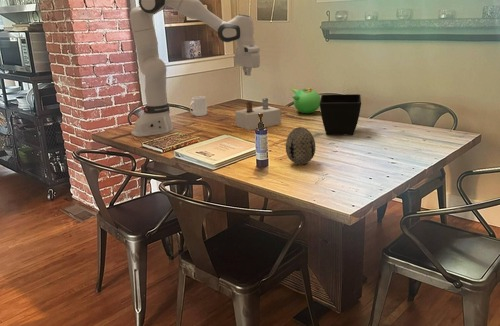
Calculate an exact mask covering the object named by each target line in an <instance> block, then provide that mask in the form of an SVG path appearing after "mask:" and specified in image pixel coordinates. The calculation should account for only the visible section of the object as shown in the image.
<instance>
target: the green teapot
mask: <svg viewBox="0 0 500 326" xmlns="http://www.w3.org/2000/svg"><path fill="white" fill-rule="evenodd" d="M291 91H292V92H293V93H294V95H292V99H293V105H294V108H295V110H297V112H300V113H302V114H311V113H314V112H317V110H319V109H320V100H321V95H320V94H319V93H318V92H317V91H316V90H315V89H313V87H308V88H303V89H300V90H299V89H296V88H294V87H292V88H291Z"/></svg>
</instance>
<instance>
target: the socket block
mask: <svg viewBox="0 0 500 326" xmlns="http://www.w3.org/2000/svg"><path fill="white" fill-rule="evenodd" d="M259 113H261V114H263V117H262V122H263V123H264V125H265V127H264V128H266V127H267V128H268V127H273V126H277V125H282V114H281V108H277V107H274V106H270V105H268V109H266V110H263V105H261V106H257V107H252V112H250V113H247V108H244V109H240V110H239V109H238V110H235V111H234V114H235V116H234V118H235V125H236V127H240V128H241V129H244V130H246V131H253V130H257V129H256V128H257V125H258V123H259V117H258V114H259Z"/></svg>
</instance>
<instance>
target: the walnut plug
mask: <svg viewBox="0 0 500 326" xmlns="http://www.w3.org/2000/svg"><path fill="white" fill-rule="evenodd" d="M245 104H246V109H247V113H250V112H252V108H253V101H251V100H249V101H246V102H245Z"/></svg>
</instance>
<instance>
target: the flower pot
mask: <svg viewBox="0 0 500 326" xmlns="http://www.w3.org/2000/svg"><path fill="white" fill-rule="evenodd" d="M361 95H362V94H360V93H359V94H358V93H357V94H355V93H354V94H350V93H349V94H346V93H345V94H321V95H320V98H321V100H320V107H319V109H320V117H321V120H322V123H323V128H324V132H325V134H326V135H327V136H353V135H355V131H356V128H357V126H358V122H359V117H360V113H361V108H362V107H361V106H362V99H361Z"/></svg>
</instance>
